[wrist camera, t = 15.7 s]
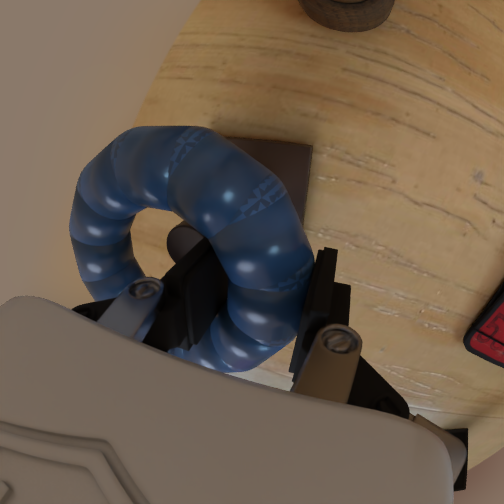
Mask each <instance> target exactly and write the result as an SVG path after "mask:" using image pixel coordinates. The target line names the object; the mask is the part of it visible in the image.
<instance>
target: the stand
mask: <svg viewBox="0 0 504 504" xmlns="http://www.w3.org/2000/svg"><path fill="white" fill-rule="evenodd" d="M223 137H224V138H226V139H227V140H229V141H230V142H232V143H233V144H235V145H236V146H237V147H239V148H240V149H242V150H243V151H244V152H246V153H247V154H249V155H250V156H251V157H253V158H254V159H255V160H257V161H258V162H260V163H261V164H262V165H264V166H265V167H266V168H268V169H269V170H270V171H272V172H273V173H274V174H275V175H276V176H277V177H278V178H279V179H280V180H281V181H282V183H283V184H284V186H285V188H286V190H287V192H288V194H289V196H290V198H291V201H292V203H293V205H294V208H295V210H296V212H297V215H298V217H299V219H300V222H301V224H302V227H303V222H304V215H305V207H306V200H307V192H308V184H309V176H310V168H311V159H312V150H313V146H311V145H304V144H297V143H289V142H281V141H272V140H263V139H252V138H240V137H226V136H223ZM204 237H205V236H204V235H202V234H201V233H200V232H198V231H197V230H196V229H195V228H193V227H192V226H191V225H190V224H188V223H187V222H186V221H182V222H181V223H180V224H178V225H177V226H176V227H174V228H173V229H172V230H171V231H170V232H169V234H168V237H167V249H168V252H169V254H170V256H171V258H172V259H173V261H174V262H175V263H177V262H178V261H179V260H180V259H181V258H182V257H183V256H185V255H186V254H187V253H188V252H189V251H190V250H191V249H192V248H193V247H194V246H195V245H196V244H197V243H198V242H199V241H200V240H201V239H203V238H204Z"/></svg>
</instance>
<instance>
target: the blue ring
mask: <svg viewBox="0 0 504 504" xmlns="http://www.w3.org/2000/svg"><path fill="white" fill-rule="evenodd" d="M147 207H149V208H155V209H161V210H167V211H173V212H174V213H176V214H177V215H178V216H179V217H181V218H182V219H183V220H184V221H186V222H187V223H188V224H190V225H191V226H192V227H193V228H195V229H196V230H197V231H198V232H200V233H201V234H202V235H204V236H205V237H206V238H207V239H208V240H209V242H210V244H211V245H212V247H213V249H214V251H215V253H216V255H217V257H218V259H219V261H220V262H221V264H222V266H223V268H224V270H225V272H226V274H227V275H228V297H227V300H226V301H225V302H224V303H223V305H222V306H221V308H220V309H219V312H218V314H217V315H216V317H215V318H214V320H213V321H212V323H211V324H210V326H209V328H208V329H207V331H206V332H205V334H204V335H203V337H202V338H201V340H200V341H199V343H198V344H197V345H194V344H193V346H192V347H191V349H190V350H189V351H187V350H184V349H181V348H178V347H176V348H174V349H175V350H174V354H173V355H174V356H176V357H179V358H182V359H185V360H187V361H190V362H193V363H196V364H198V365H201V366H204V367H207V368H210V369H213V370H216V371H219V372H222V373H229V372H244V371H248V370H251V369H253V368H255V367H257V366H258V365H260V364H261V363H263V362H264V361H266V360H267V359H268V358H270V357H271V356H272V355H274V354H275V353H277V352H278V351H279V350H281V349H282V348H283V347H285V346H286V345H288V344H289V343H290V342H291V341H292V340H293V339H294V338H295V337H296V336H297V334H298V329H299V325H300V320H301V316H302V312H303V307H304V304H305V300H306V296H307V293H308V289H309V285H310V281H311V277H312V274H313V270H314V266H315V260H314V255H313V252H312V249H311V246H310V244H309V241H308V239H307V236H306V234H305V231H304V229H303V227H302V224H301V222H300V219H299V217H298V215H297V212H296V210H295V208H294V205H293V203H292V201H291V198H290V196H289V194H288V192H287V190H286V188H285V186H284V184H283V183H282V181H281V180H280V179H279V178H278V177H277V176H276V175H275V174H274V173H273V172H272V171H270V170H269V169H268V168H266V167H265V166H264V165H262V164H261V163H260V162H258V161H257V160H255V159H254V158H253V157H251V156H250V155H249V154H247V153H246V152H244V151H243V150H242V149H240V148H239V147H237V146H236V145H235V144H233V143H232V142H230V141H229V140H227V139H226V138H224V137H223V136H222V135H220V134H219V133H217V132H215V131H213V130H211V129H208V128H205V127H199V126H141V127H135V128H132V129H129V130H127V131H125V132H124V133H122V134H121V135H119V136H118V137H117V138H116V139H115V140H113V141H112V142H111V143H110V144H109V145H108V146H107V147H105V148H104V149H103V150H102V151H101V152H100V153H99V154H98V155H97V156H96V157H95V158H94V159H93V160H91V162H89V163H88V164H87V165H86V167H85V168H84V169H83V171H82V172H81V174H80V177H79V179H78V182H77V186H76V191H75V196H74V201H73V206H72V211H71V216H70V223H69V231H70V237H71V241H72V245H73V250H74V254H75V258H76V262H77V265H78V269H79V273H80V276H81V278H82V281H83V282H84V284H85V286H86V287H87V289H88V290H89V292H90V294H91V295H92V297H93V298H94V300H95V302H97V301H102V300H106V299H111V298H116V297H118V295H119V294H120V293H121V292H122V291H123V289H124V288H125V287H126V286H127V285H128V284H129V283H130V282H131V281H133V280H135V279H138V278H141V277H146V276H145V274H144V272H143V271H142V269H141V267H140V266H139V264H138V262H137V260H136V259H135V257H134V254H133V247H132V240H131V233H130V228H131V226H132V223H133V220H134V218H135V215H136V214H137V213H138V212H140V211H142V210H143V209H145V208H147Z"/></svg>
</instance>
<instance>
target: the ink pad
mask: <svg viewBox="0 0 504 504" xmlns="http://www.w3.org/2000/svg"><path fill="white" fill-rule="evenodd" d="M463 343H464V345H465V348H466V349H467V350H468V351H469V352H471V353H473V354H475V355H477V356H479V357H481V358H483V359H485V360H487V361H489V362H491V363H493V364H495V365H498V366H500V367H502V368H504V282H503V284H502V285H501V287H500V288H499V290H498V291H497V293H496V294H495V295H494V297H493V298H492V300H491V301H490V303H489V304H488V305H487V307H486V308H485V309H484V311H483V312H482V314H481V315H480V316H479V317H478V319H477V320H476V322H475V323H473V325H472V327H471V328H470V329H469V330H468V332H467V333H466V335H465V336H464V340H463Z"/></svg>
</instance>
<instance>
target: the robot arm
mask: <svg viewBox="0 0 504 504" xmlns="http://www.w3.org/2000/svg"><path fill="white" fill-rule="evenodd" d="M337 253H338V250H337V249H332V248H327V247H324V250H318V254H317V258H316V262H315V266H314V270H313V274H312V277H311V281H310V285H309V289H308V293H307V296H306V300H305V304H304V307H303V312H302V316H301V320H300V325H299V329H298V334H297V338H296V343H295V347H294V351H293V355H292V359H291V363H290V367H289V372H291V373H294V376H293V379H292V382H294V384H293V386H292V388H291V390H290V392H289V391H285V390H281V389H277V388H273V387H270V386H266V385H262V384H259V383H255V382H252V381H248V380H245V379H242V378H238V377H235V376H232V375H229V374H225V373H222V372H219V371H216V370H213V369H210V368H207V367H204V366H201V365H198V364H196V363H193V362H190V361H187V360H185V359H182V358H179V357H176V356H174V355H173V354H174V350H175V349H174V348H176V347H178V348H181V349H184V350H187V351H189V350H190V349H191V347H192V346H193V344H194V345H197V344H198V343H199V341H200V340H201V338H202V337H203V335H204V334H205V332H206V331H207V329H208V328H209V326H210V324H211V323H212V321H213V320H214V318H215V317H216V315H217V314H218V312H219V309H220V308H221V306H222V305H223V303H224V302H225V301H226V300H227V297H228V275H227V274H226V272H225V270H224V268H223V266H222V264H221V262H220V261H219V259H218V257H217V255H216V253H215V251H214V249H213V247H212V245H211V244H210V242H209V240H208V239H207V238H206V237H204V238H203V239H201V240H200V241H199V242H198V243H197V244H196V245H195V246H194V247H193V248H192V249H191V250H190V251H189V252H188V253H187V254H186V255H185V256H183V257H182V258H181V259H180V260H179V261H178V262H177V263H176V264H175V265H174V266H173V267H172V268H171V269H170V270H169V271H168V272H167V273H166V274H165V276H163V277H162V278H161V279H160V280H159V279H157V278H154V277H141V278H138V279H135V280H133V281H131V282H130V283H129V284H128V285H127V286H126V287H125V288H124V289H123V291H122V292H121V293H120V294H119V295H118V297H116V298H111V299H106V300H102V301H97V302H92V303H87V304H82V305H79V306H77V307H75V308H73V309H72V310H70V309H68V308H66V307H64V306H62V305H60V304H58V303H55V302H52V301H50V300H47V299H44V298H40V297H35V296H18V297H14V298H12V299H10V300H9V301H7V302H6V303H4V304H3V305H1V306H0V504H453V493H454V492H453V485H454V483H455V481H456V479H457V477H458V475H459V473H460V471H461V469H462V467H463V465H464V462H465V460H466V456H467V453H466V447H465V445H464V443H463V442H462V441H461V440H460V439H459V438H457V437H455V436H453V435H452V434H450V433H448V432H447V431H445V430H444V429H442V428H440V427H439V426H437V425H435V424H434V423H432V422H430V421H429V420H427V419H426V418H424V417H422V416H421V415H419V414H417V415H416V416H414V415H412V414H411V413H409V407H408V404H407V403H406V401H405V400H404V399H403V397H402V396H401V395H400V394H399V393H398V392H397V391H396V390H395V389H394V388H393V387H392V386H391V385H390V384H389V383H388V382H387V381H386V380H385V379H384V378H383V377H382V376H381V375H380V374H379V373H378V372H377V371H376V370H375V369H374V368H373V367H372V366H371V365H370V364H369V363H368V362H367V361H366V360H365V359H364V358H362V357H361V356H360V354H361V349H362V340H361V337H360V335H359V334H358V333H357V332H356V331H355V330H353V329H352V328H351V327H348V325H349V311H350V294H351V286H350V285H347V284H342V283H337V282H334V278H335V270H336V262H337Z"/></svg>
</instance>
